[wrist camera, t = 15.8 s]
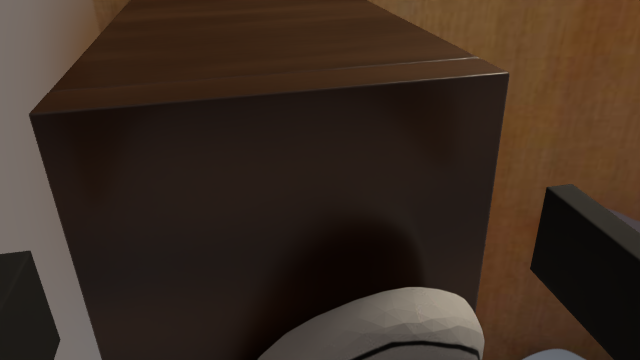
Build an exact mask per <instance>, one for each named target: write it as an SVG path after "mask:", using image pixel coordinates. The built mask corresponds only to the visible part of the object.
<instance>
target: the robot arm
mask: <svg viewBox="0 0 640 360" xmlns="http://www.w3.org/2000/svg"><path fill="white" fill-rule="evenodd" d="M530 269H531V270H532V272H533V273H534V274H535V275H536V276H537V277H538V278H539V279H540V280H541V281H542V282H543V283H544V285H545V286H546V287H547V288H548V289H549V290H550V291H551V292H552V293H553V294H554V295H555V296H556V297H557V299H558V300H559V301H560V302H561V303H562V304H563V305H564V306H565V307H566V308H567V309H568V310H569V312H570V313H571V314H572V315H573V316H574V317H575V318H576V319H577V320H578V321H579V322H580V323H581V324H582V326H583V327H584V328H585V329H586V330H587V331H588V332H589V333H590V334H591V335H592V336H593V337H594V339H595V340H596V341H597V342H598V343H599V344H600V345H601V346H602V347H603V348H604V349H605V350H606V351H607V353H608V354H609V355H610V356H611V357H612V358H613V359H614V360H640V233H639V232H637V231H636V230H635V229H633V228H632V227H630V226H629V225H628V224H626V223H625V222H624V221H622V220H621V219H619V218H618V217H617V216H615V215H614V214H613V213H611V212H610V211H608V210H607V209H606V208H604V207H603V206H602V205H600V204H599V203H597V202H596V201H595V200H593V199H592V198H591V197H589V196H588V195H586V194H585V193H584V192H582V191H581V190H580V189H578V188H577V187H575V186H574V185H573V184H568V185H560V186H552V187H547V188H546V193H545V198H544V203H543V208H542V213H541V218H540V223H539V228H538V233H537V238H536V243H535V248H534V253H533V257H532V262H531V267H530ZM59 342H60V337H59V334H58V332H57V329H56V326H55V323H54V319H53V316H52V314H51V311H50V308H49V305H48V302H47V299H46V296H45V293H44V290H43V287H42V284H41V281H40V278H39V275H38V272H37V269H36V266H35V263H34V260H33V257H32V254H31V251H23V252H15V253H6V254H0V360H54V357H55V354H56V351H57V348H58V345H59Z"/></svg>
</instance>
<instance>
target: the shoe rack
mask: <svg viewBox="0 0 640 360" xmlns="http://www.w3.org/2000/svg"><path fill="white" fill-rule="evenodd" d="M508 81H509V73H508V72H506V71H504V70H503V69H501V68H499V67H497V66H495V65H493V64H491V63H489V62H487V61H485V60H483V59H481V58H478V57H476V56H474V55H473V54H471V53H469V52H467V51H465V50H463V49H461V48H459V47H457V46H455V45H453V44H451V43H449V42H447V41H445V40H443V39H441V38H439V37H437V36H435V35H433V34H431V33H430V32H428V31H426V30H424V29H422V28H420V27H418V26H416V25H414V24H412V23H410V22H408V21H406V20H404V19H402V18H400V17H398V16H396V15H394V14H392V13H390V12H388V11H387V10H385V9H383V8H381V7H379V6H377V5H375V4H373V3H371V2H369V1H367V0H130V2H129V3H128V4H127V5H126V6H125V7H124V8H123V9H122V11H121V12H120V13H119V14H118V15H117V16H116V17H115V18H114V20H113V21H112V22H111V23H110V24H109V25H108V26H107V27H106V29H105V30H104V31H103V32H102V33H101V34H100V35H99V36H98V38H97V39H96V40H95V41H94V42H93V43H92V44H91V46H90V47H89V48H88V49H87V50H86V51H85V52H84V53H83V54H82V56H81V57H80V58H79V59H78V60H77V61H76V62H75V63H74V65H73V66H72V67H71V68H70V69H69V70H68V71H67V72H66V74H65V75H64V76H63V77H62V78H61V79H60V80H59V81H58V83H57V84H56V85H55V86H54V87H53V88H52V89H51V90H50V92H49V93H47V95H46V96H45V97H44V98H43V99H42V100H41V101H40V102H39V103H38V105H37V106H36V107H35V108H34V109H33V110H32V111H31V112H30V114H29V117H30V121H31V124H32V127H33V131H34V134H35V137H36V141H37V144H38V147H39V151H40V154H41V157H42V161H43V164H44V167H45V171H46V174H47V178H48V181H49V184H50V188H51V191H52V194H53V197H54V201H55V204H56V207H57V211H58V214H59V218H60V221H61V224H62V228H63V231H64V234H65V238H66V241H67V244H68V248H69V251H70V254H71V258H72V261H73V265H74V268H75V271H76V274H77V278H78V281H79V284H80V288H81V291H82V295H83V298H84V301H85V305H86V308H87V311H88V315H89V318H90V321H91V325H92V328H93V331H94V335H95V338H96V341H97V345H98V348H99V351H100V355H101V358H102V360H257V359H258V358H259V357H260V356H261V355H262V354H263V353H264V352H265V351H267V350H268V349H269V348H270V347H271V346H272V345H273V344H274V343H276V342H277V341H278V340H279V339H280V338H281V337H282V336H283V335H285V334H286V333H287V332H289V331H291V330H293V329H294V328H296V327H298V326H300V325H302V324H303V323H305V322H307V321H309V320H310V319H312V318H314V317H316V316H318V315H321V314H323V313H326V312H328V311H330V310H333V309H335V308H338V307H340V306H342V305H345V304H347V303H350V302H352V301H354V300H357V299H360V298H364V297H367V296H370V295H374V294H377V293H380V292H384V291H389V290H394V289H400V288H405V287H423V288H432V289H440V290H443V291H447V292H450V293H454V294H457V295H458V296H460V297H462V298H464V299H465V300H466V302H467V303H468V304H469V305H470V307H471V308H472V310H473V311H474V313H475V312H476V305H477V298H478V291H479V284H480V277H481V270H482V263H483V256H484V249H485V242H486V235H487V228H488V221H489V214H490V207H491V200H492V193H493V186H494V179H495V172H496V165H497V158H498V151H499V144H500V137H501V130H502V123H503V116H504V109H505V102H506V95H507V88H508Z"/></svg>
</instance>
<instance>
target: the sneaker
mask: <svg viewBox="0 0 640 360" xmlns="http://www.w3.org/2000/svg"><path fill="white" fill-rule="evenodd" d="M483 348H484V337H483V332H482V329H481V326H480V324H479V322H478V320H477V317H476V315H475V313H474V311H473V310H472V308H471V307H470V305H469V304H468V303H467V302H466V300H465V299H464V298H462V297H460V296H458V295H457V294H454V293H450V292H447V291H443V290H440V289H432V288H423V287H405V288H400V289H394V290H389V291H384V292H380V293H377V294H374V295H370V296H367V297H364V298H360V299H357V300H354V301H352V302H350V303H347V304H345V305H342V306H340V307H338V308H335V309H333V310H330V311H328V312H326V313H323V314H321V315H318V316H316V317H314V318H312V319H310V320H309V321H307V322H305V323H303V324H302V325H300V326H298V327H296V328H294V329H293V330H291V331H289V332H287V333H286V334H285V335H283V336H282V337H281V338H280V339H279V340H278V341H277V342H276V343H274V344H273V345H272V346H271V347H270V348H269V349H268V350H267V351H265V352H264V353H263V354H262V355H261V356H260V357H259V358H258V359H257V360H481V359H482V355H483Z"/></svg>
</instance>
